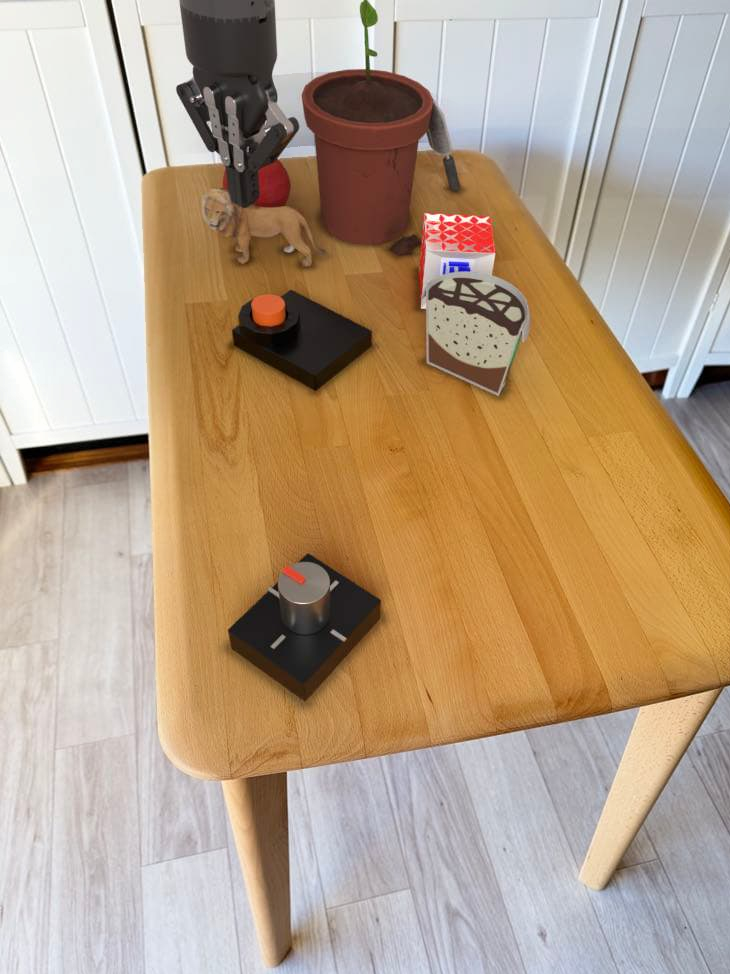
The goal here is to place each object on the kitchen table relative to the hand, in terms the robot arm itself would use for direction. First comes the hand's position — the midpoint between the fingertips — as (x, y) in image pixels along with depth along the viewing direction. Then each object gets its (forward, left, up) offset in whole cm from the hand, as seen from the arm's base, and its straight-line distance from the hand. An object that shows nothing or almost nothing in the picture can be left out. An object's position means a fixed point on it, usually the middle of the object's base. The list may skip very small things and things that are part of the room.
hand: (244, 202), depth 78 cm
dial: (-26, -29, -14) cm, 41 cm away
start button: (+1, -1, -14) cm, 14 cm away
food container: (+13, -21, -18) cm, 30 cm away
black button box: (+3, -4, -17) cm, 18 cm away
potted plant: (+31, +5, -18) cm, 36 cm away
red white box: (+24, -11, -18) cm, 31 cm away
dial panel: (-26, -29, -17) cm, 42 cm away
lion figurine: (+13, +11, -18) cm, 25 cm away
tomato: (+21, +19, -18) cm, 34 cm away
